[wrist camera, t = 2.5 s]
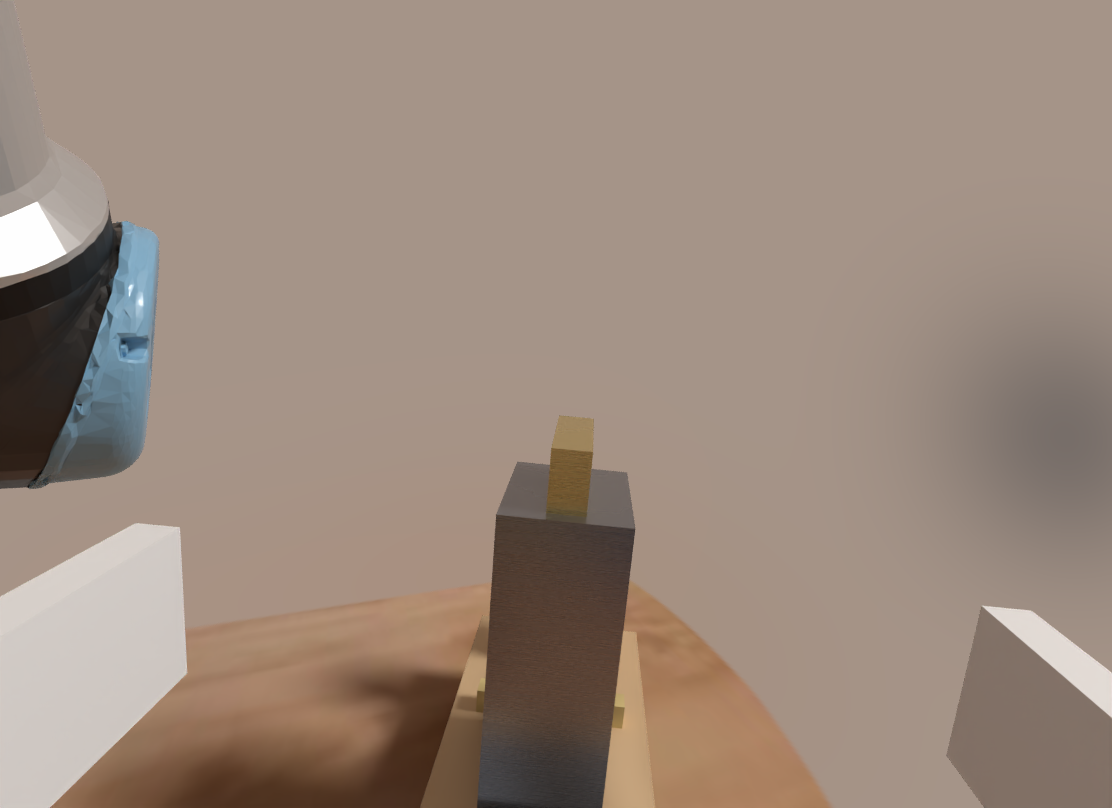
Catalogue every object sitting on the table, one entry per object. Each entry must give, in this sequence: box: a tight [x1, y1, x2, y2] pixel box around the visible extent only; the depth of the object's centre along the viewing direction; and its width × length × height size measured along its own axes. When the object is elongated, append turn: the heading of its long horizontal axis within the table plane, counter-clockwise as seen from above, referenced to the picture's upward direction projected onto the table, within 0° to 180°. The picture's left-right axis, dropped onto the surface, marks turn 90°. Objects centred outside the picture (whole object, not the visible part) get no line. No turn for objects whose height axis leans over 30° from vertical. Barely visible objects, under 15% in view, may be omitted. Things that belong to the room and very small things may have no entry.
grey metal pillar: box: [477, 416, 635, 808], centre depth 22 cm, size 4×5×13 cm
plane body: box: [420, 615, 655, 808], centre depth 24 cm, size 8×18×11 cm, turn 177°
